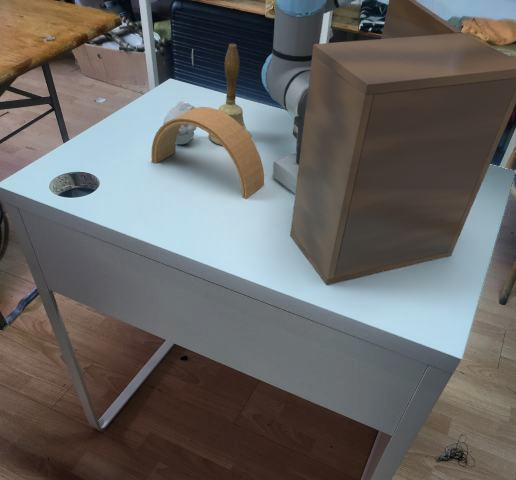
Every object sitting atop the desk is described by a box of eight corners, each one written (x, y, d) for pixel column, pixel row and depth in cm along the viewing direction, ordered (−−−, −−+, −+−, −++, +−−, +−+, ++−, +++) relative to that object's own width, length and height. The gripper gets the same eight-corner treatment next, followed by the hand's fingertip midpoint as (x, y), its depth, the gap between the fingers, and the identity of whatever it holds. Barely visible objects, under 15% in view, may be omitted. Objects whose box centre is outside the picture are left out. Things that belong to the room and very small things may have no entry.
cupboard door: (390, 147, 96) (432, -12, 77) (438, 207, 83) (503, 31, 64) (357, 149, 95) (391, -13, 76) (401, 210, 82) (455, 32, 63)
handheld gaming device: (271, 179, 86) (273, 158, 83) (335, 158, 92) (338, 138, 90) (303, 204, 82) (306, 183, 79) (368, 181, 88) (373, 160, 85)
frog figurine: (206, 143, 94) (206, 105, 89) (177, 154, 90) (174, 115, 85) (186, 131, 97) (184, 94, 91) (157, 141, 93) (153, 103, 88)
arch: (172, 149, 91) (168, 92, 84) (264, 184, 85) (268, 126, 77) (151, 161, 88) (145, 103, 81) (245, 199, 81) (247, 139, 74)
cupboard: (289, 236, 75) (313, 44, 56) (406, 213, 81) (463, 32, 62) (326, 285, 68) (367, 84, 49) (450, 256, 74) (531, 67, 55)
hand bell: (229, 123, 100) (230, 33, 88) (260, 137, 97) (265, 45, 85) (199, 136, 95) (196, 43, 84) (231, 151, 92) (232, 56, 80)
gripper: (379, 121, 85) (457, 183, 72) (244, 140, 78) (303, 213, 65) (390, 74, 79) (476, 132, 66) (245, 89, 72) (311, 158, 59)
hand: (391, 172), depth 66 cm, fingers open, 13 cm apart
